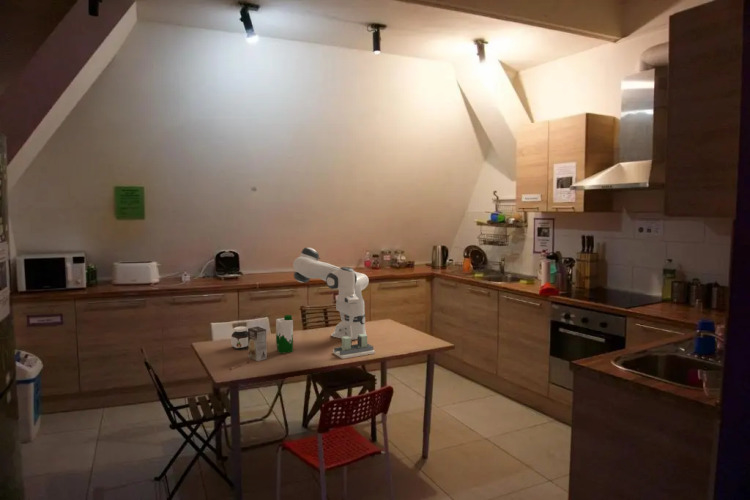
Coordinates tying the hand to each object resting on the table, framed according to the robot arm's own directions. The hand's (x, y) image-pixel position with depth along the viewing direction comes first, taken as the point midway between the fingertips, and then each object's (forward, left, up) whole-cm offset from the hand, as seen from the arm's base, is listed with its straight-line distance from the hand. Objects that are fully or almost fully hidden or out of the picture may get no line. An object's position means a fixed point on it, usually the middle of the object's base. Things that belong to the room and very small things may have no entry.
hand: (346, 321), depth 277 cm
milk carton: (-34, -11, -18) cm, 40 cm away
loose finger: (0, 0, -17) cm, 17 cm away
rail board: (+2, +4, -18) cm, 19 cm away
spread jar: (-59, -16, -18) cm, 64 cm away
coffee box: (-39, -28, -18) cm, 51 cm away
